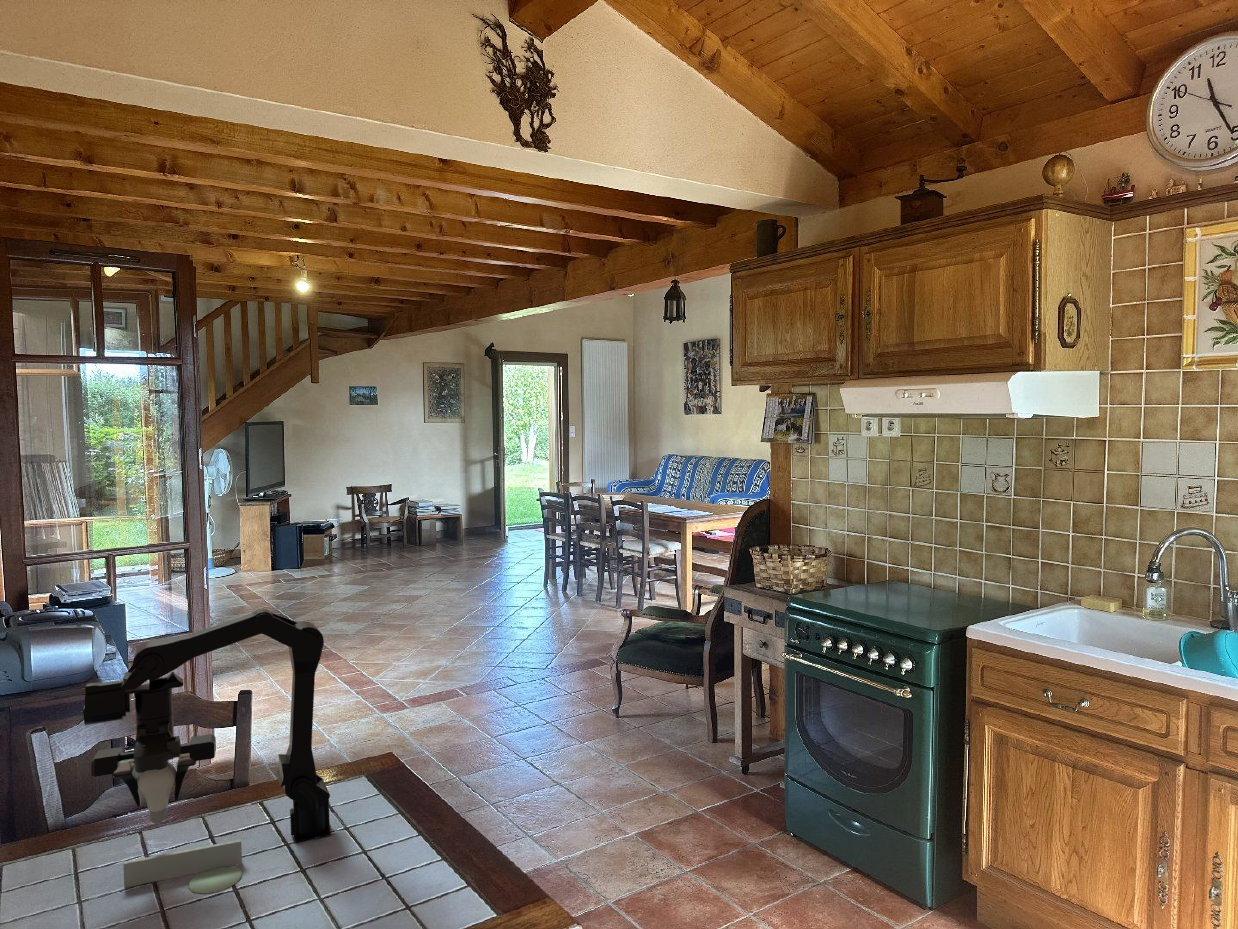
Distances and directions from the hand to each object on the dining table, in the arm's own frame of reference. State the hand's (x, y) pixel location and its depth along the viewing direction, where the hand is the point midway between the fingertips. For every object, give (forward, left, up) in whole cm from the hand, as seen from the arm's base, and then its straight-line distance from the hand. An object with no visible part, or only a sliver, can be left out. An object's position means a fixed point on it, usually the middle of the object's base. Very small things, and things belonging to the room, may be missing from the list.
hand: (158, 802), depth 147 cm
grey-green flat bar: (-4, +5, -11) cm, 13 cm away
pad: (-9, +9, -11) cm, 17 cm away
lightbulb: (0, 0, -4) cm, 4 cm away
